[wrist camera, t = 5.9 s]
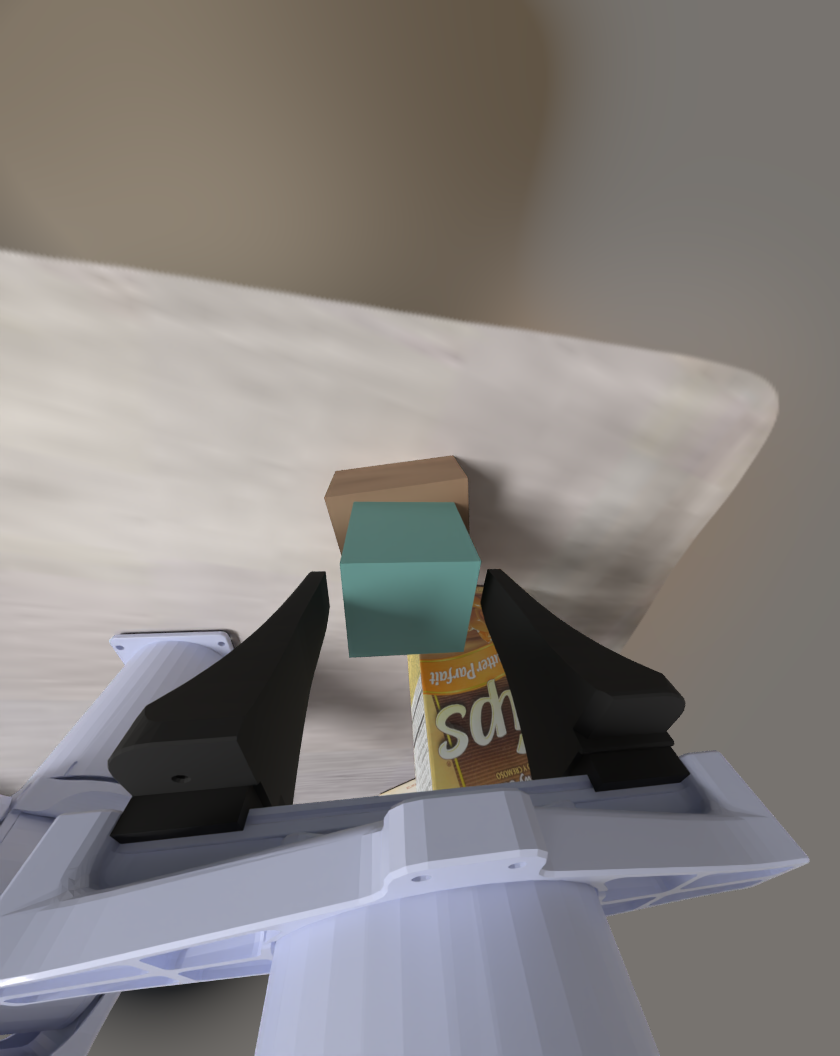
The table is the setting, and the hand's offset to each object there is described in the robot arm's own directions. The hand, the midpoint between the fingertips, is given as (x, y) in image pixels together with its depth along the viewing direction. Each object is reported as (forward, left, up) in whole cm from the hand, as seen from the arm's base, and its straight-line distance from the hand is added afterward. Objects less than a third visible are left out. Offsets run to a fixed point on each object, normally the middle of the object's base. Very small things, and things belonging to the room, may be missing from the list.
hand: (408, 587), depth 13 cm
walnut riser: (0, 0, -7) cm, 7 cm away
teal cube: (0, 0, -3) cm, 3 cm away
